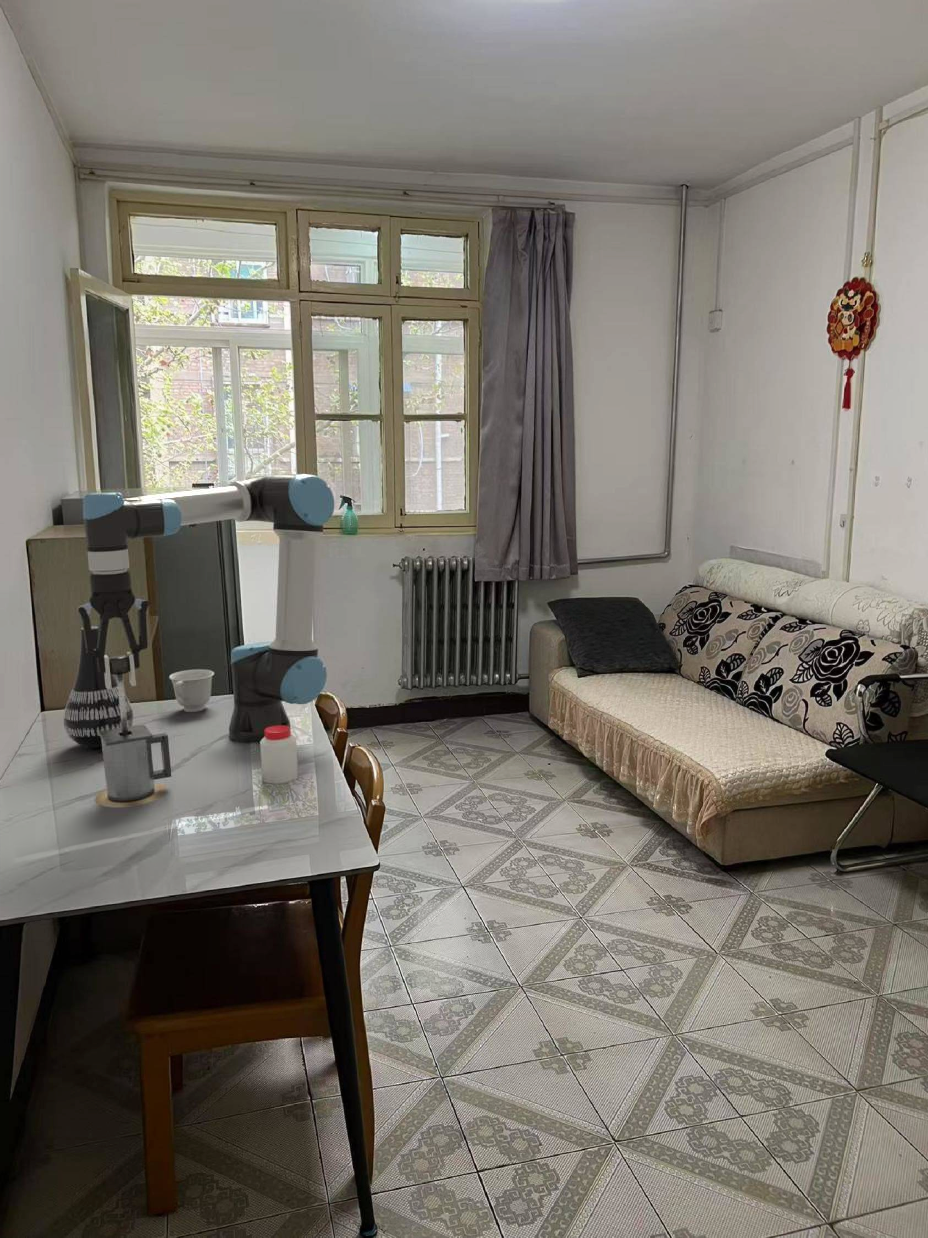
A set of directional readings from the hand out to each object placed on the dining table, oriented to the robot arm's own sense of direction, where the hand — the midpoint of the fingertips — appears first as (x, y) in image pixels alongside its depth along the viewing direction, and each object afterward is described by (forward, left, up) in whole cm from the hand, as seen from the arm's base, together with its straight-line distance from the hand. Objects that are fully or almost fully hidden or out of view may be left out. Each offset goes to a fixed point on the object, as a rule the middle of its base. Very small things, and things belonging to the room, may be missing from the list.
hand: (120, 685), depth 187 cm
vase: (0, -41, -24) cm, 48 cm away
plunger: (0, 0, -14) cm, 14 cm away
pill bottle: (-30, +5, -24) cm, 39 cm away
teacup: (-27, -60, -24) cm, 70 cm away
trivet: (0, 0, -24) cm, 24 cm away
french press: (-2, 0, -23) cm, 23 cm away
